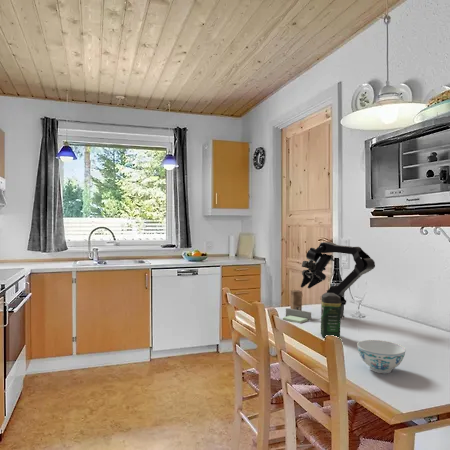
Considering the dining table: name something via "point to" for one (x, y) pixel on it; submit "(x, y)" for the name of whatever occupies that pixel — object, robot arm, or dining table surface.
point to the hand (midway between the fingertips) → (304, 287)
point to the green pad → (295, 319)
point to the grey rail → (298, 313)
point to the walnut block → (296, 299)
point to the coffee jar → (330, 314)
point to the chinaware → (381, 354)
